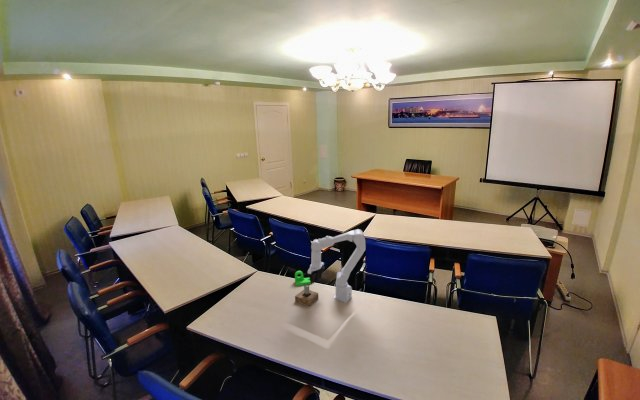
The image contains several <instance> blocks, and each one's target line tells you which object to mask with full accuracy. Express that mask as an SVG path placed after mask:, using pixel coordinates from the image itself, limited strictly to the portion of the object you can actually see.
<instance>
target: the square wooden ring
mask: <svg viewBox="0 0 640 400" xmlns="http://www.w3.org/2000/svg"><path fill="white" fill-rule="evenodd" d="M318 299H319V292H318V291H317V292H316V291H314V290H310V289H309V297H305V296H304V289H303V290H300V292H298V293H297V294H296V295H295V296H294V301H295V302H296V303H299V304H301V305H303V306H307V307H310V306H311V305H313V304H314V303H315V302H316V301H317V300H318Z"/></svg>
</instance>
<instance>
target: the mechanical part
mask: <svg viewBox="0 0 640 400" xmlns="http://www.w3.org/2000/svg"><path fill="white" fill-rule="evenodd" d="M298 275H300V276H298ZM294 282H295V286H296V287H297V286H298V287H299V286H301V287H302V286H305V285H313V283H311V282H310V278H309V277H304V273H303V271H301V270H297V271H296V272H295V273H294Z"/></svg>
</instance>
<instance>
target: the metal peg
mask: <svg viewBox="0 0 640 400" xmlns="http://www.w3.org/2000/svg"><path fill="white" fill-rule="evenodd" d="M303 290H304V296H305V297H309V290H310V284H307V285H303Z"/></svg>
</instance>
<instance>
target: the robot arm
mask: <svg viewBox="0 0 640 400" xmlns="http://www.w3.org/2000/svg"><path fill="white" fill-rule="evenodd" d="M343 241H348V242H352V243H354V244H355V245H356V247H355V249H354V250H353V252H352V254H351V255H350V256H349V259H348V260H347V262H346V263H345V265H344V266H343V267H342V268H341V269H339V271H337V273H336V279H335V295H334V296H333V297H332V298H333V299H334V300H335V299H336V300H339V301H341V302H344V303H348V302H349V300H350V299H352V297H353V287H352V286H351V285H349V283H348V280H349V277H350V275H351V272H352V271H353V270H354V268H355V267H356V265H357V263H358V262H359V261H360V259H361V258H362V256H363V255H364V252H365V251H366V247H367V246H366V238H365V235H364V232H363V230H362V229H359V228H357V229H353V230H350V231H347V232H345V233H341V234H338V235H335V236H330V235H326V236H325V237H322V238H318V239H317V238H315V239H313V241H311V242H312V243H311V244H310V245H311V246H310V249H311V253H310V254H311V261H310V262H311V264H310V265H309V268H308V270H307V271H306V274H307V276H308V278H310V282H311V283H312V284H314V283H315V278H318V279H321V278H322V276H323V272H324V270H325V268H326V267H325V266H324V265H325V262H323V261H322V249H326V248H328V247H333V246H334V244H335V243H339V242H343ZM315 271H316V272H315ZM316 276H317V277H316Z"/></svg>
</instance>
